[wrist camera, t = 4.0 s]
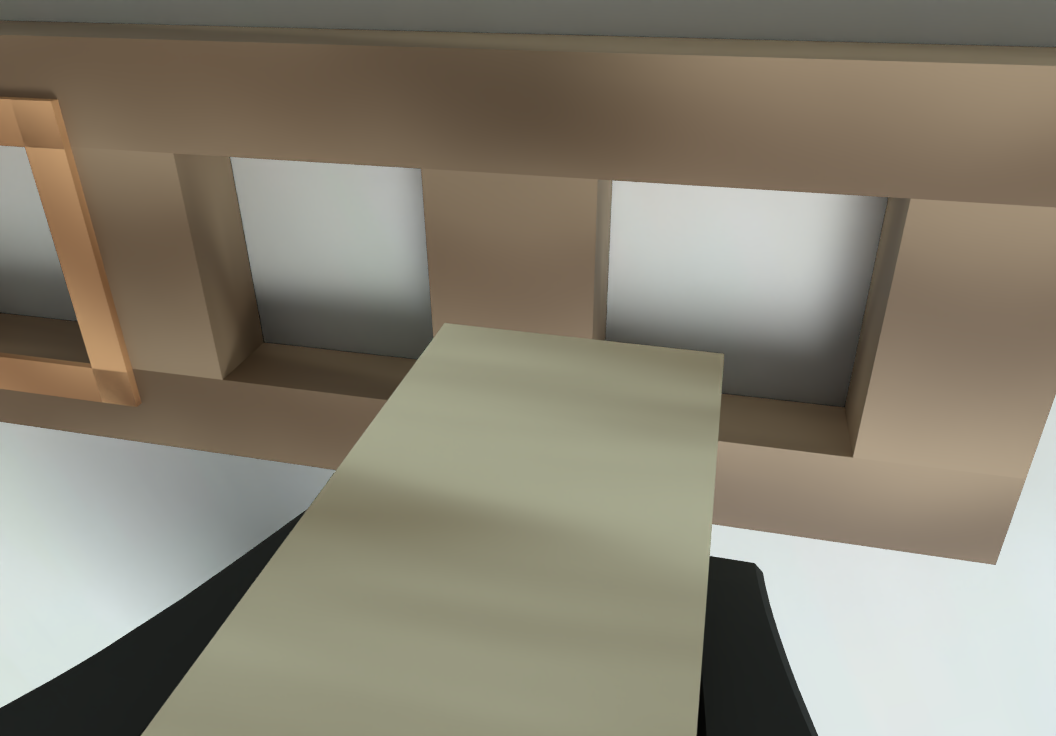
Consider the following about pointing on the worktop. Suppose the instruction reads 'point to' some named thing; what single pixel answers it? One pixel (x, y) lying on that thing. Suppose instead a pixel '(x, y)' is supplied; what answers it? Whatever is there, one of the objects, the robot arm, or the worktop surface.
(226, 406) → the brown slotted board
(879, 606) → the worktop surface
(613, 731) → the peg
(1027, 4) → the worktop surface
